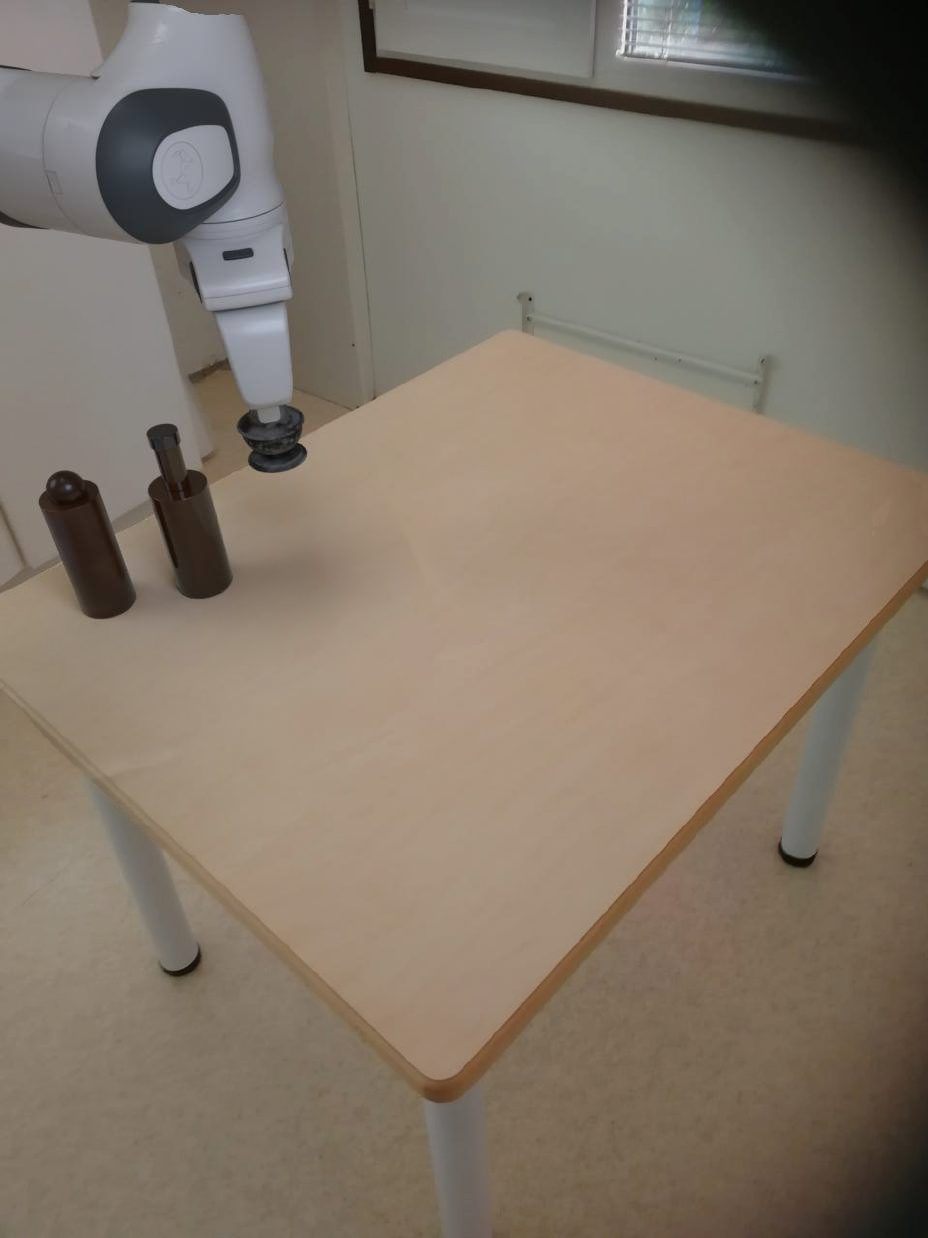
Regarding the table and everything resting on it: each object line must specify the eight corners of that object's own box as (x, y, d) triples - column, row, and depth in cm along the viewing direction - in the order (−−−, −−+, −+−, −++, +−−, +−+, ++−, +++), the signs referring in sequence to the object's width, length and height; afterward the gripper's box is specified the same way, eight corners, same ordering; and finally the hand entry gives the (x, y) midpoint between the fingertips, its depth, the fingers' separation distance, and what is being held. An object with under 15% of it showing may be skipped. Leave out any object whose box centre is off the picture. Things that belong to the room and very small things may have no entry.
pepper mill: (81, 624, 88) (27, 494, 78) (82, 591, 91) (31, 463, 82) (136, 612, 89) (90, 482, 79) (135, 580, 92) (90, 452, 83)
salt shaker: (324, 449, 86) (303, 321, 78) (281, 481, 82) (254, 350, 74) (274, 434, 88) (249, 308, 80) (230, 464, 85) (200, 335, 77)
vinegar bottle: (179, 604, 89) (131, 451, 78) (176, 571, 93) (129, 421, 82) (235, 592, 90) (195, 440, 79) (230, 560, 94) (191, 411, 83)
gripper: (183, 206, 80) (218, 360, 89) (201, 299, 65) (241, 472, 74) (258, 196, 81) (286, 349, 90) (293, 285, 66) (322, 457, 75)
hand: (266, 406), depth 82 cm, fingers closed on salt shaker, 3 cm apart
